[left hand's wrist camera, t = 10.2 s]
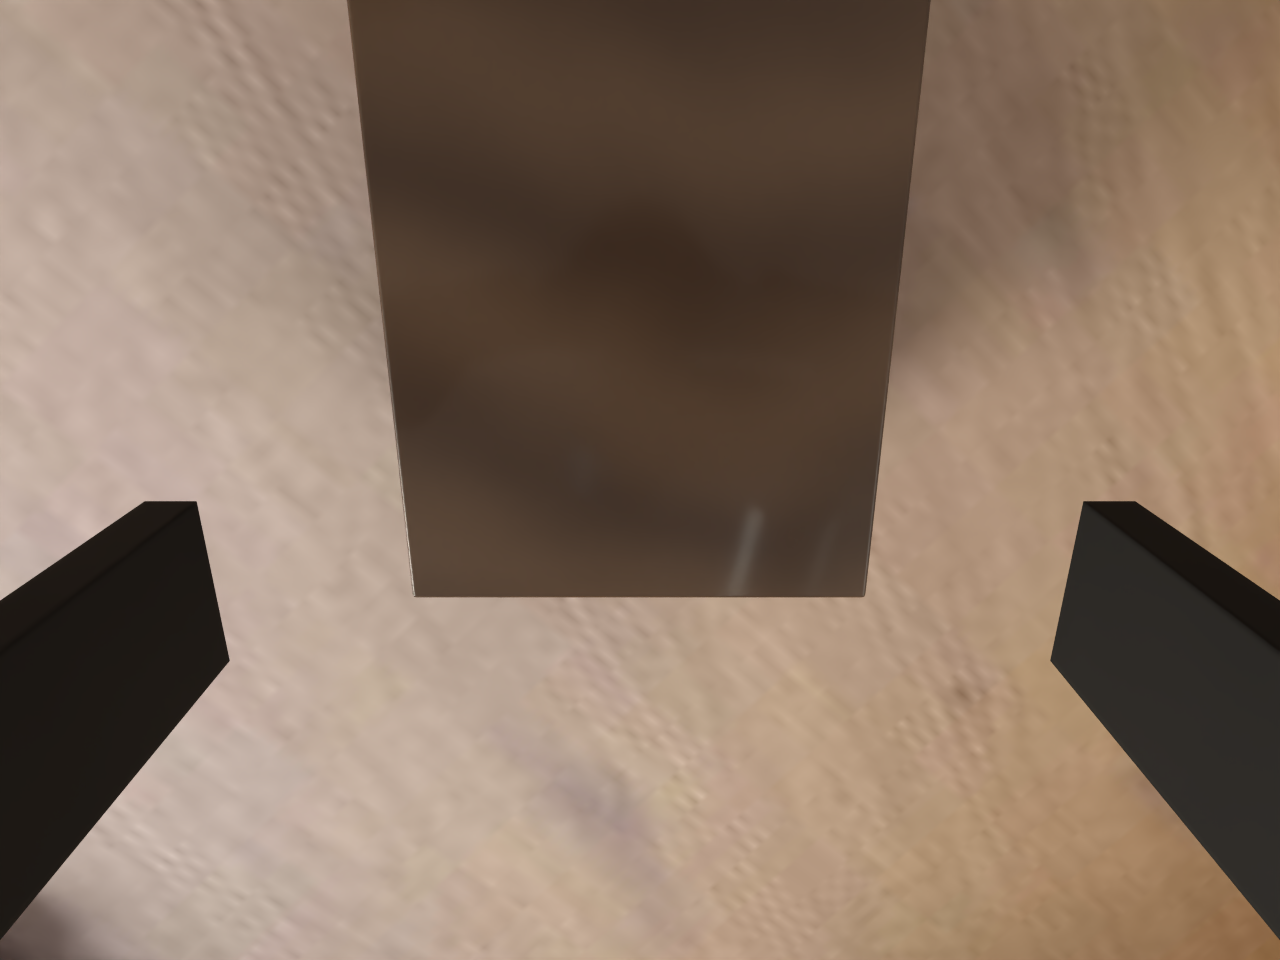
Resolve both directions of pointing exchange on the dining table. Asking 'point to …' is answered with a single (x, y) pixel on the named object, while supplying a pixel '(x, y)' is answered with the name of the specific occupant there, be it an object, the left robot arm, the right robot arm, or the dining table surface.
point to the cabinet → (638, 285)
